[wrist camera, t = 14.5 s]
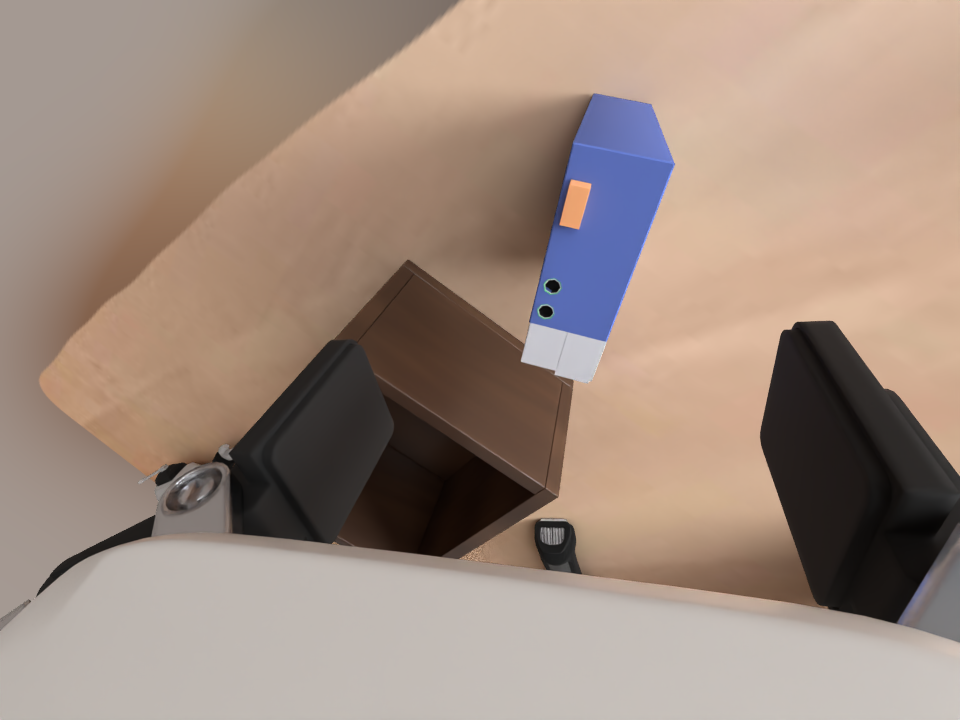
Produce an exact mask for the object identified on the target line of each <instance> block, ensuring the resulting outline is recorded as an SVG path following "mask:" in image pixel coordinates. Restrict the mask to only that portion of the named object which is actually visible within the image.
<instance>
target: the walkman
mask: <svg viewBox="0 0 960 720" xmlns="http://www.w3.org/2000/svg"><path fill="white" fill-rule="evenodd" d="M674 165H675V163H674V161H673V158H672V156H671V153H670V151H669V148H668V146H667V143H666V141H665V138H664V135H663V133H662V130H661V128H660V125H659V123H658V120H657V118H656V115H655V113H654V110H653V108H652V105H651V104H647V103H642V102H637V101H631V100H626V99H621V98H616V97H610V96H605V95H600V94H593V96H592V99H591V101H590V104H589V106H588V108H587V111H586V113H585V115H584V118H583V120H582V122H581V125H580V127H579V129H578V132H577V134H576V136H575V139H574V141H573V144H572V148H571V152H570V156H569V161H568V165H567V167H566V171H565V172H566V173H565V175H564V176H565V177H564V179H563V180H564V181H563V183H562V184H563V185H562V189H561V192H560V196H559V197H560V198H559V202H558V206H557V208H556V209H557V210H556V212H555V213H556V214H555V217H554V222H553V225H552V229H551V234H550V239H549V243H548V246H547V249H546V250H547V251H546V255H545V257H544V263H543V267H542V270H541V275H540V280H539V284H538V288H537V292H536V296H535V300H534V304H533V308H532V312H531V317H530V321H529V322H530V325H529V329H528V333H527V337H526V342H525V346H524V350H523V354H522V358H521V362H524V363H528V364H531V365H535V366H539V367H543V368H547V369H551V370H555V375H557V376H561V377H565V378H569V379H572V380H576V381H580V382H584V383H587V384H588V382H589V381H592V379H593V376H594V374H595V371H596V368H597V366H598V363H599V361H600V358H601V355H602V353H603V350H604V348H605V345H606V342H607V339H608V337H609V334H610V332H611V329H612V326H613V324H614V321H615V319H616V316H617V313H618V311H619V308H620V306H621V303H622V300H623V298H624V295H625V293H626V290H627V287H628V285H629V282H630V280H631V277H632V274H633V272H634V269H635V267H636V264H637V261H638V259H639V256H640V254H641V251H642V248H643V246H644V243H645V241H646V238H647V235H648V233H649V230H650V228H651V225H652V222H653V220H654V217H655V215H656V212H657V209H658V207H659V204H660V202H661V199H662V196H663V194H664V191H665V189H666V186H667V183H668V181H669V178H670V176H671V173H672V170H673V168H674Z"/></svg>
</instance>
